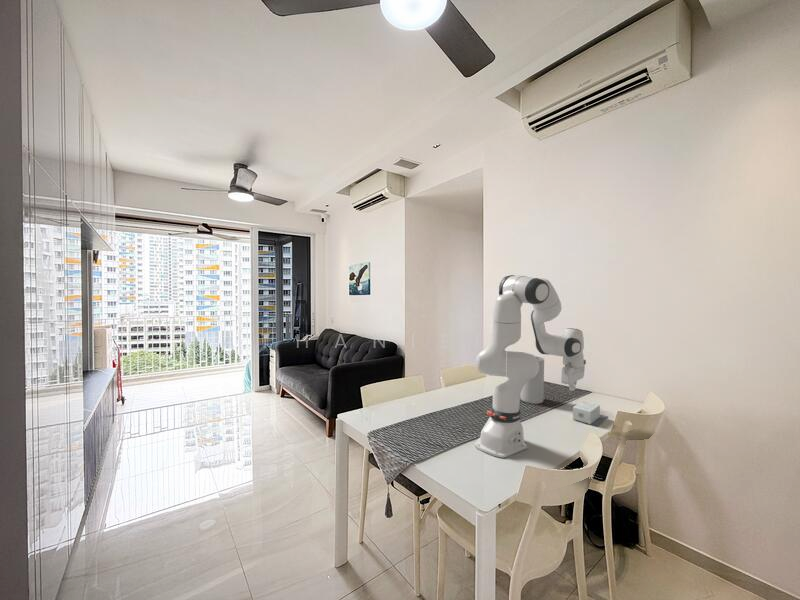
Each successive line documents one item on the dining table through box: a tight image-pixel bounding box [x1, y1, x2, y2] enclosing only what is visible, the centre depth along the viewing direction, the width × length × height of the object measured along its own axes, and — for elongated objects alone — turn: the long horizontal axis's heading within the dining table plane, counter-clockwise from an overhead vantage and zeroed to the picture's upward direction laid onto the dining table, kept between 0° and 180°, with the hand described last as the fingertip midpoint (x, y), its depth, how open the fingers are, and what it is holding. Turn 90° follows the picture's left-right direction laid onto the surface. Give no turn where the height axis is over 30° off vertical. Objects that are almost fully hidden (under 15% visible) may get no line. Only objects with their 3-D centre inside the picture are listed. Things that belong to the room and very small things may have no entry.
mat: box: [576, 414, 608, 427], centre depth 158 cm, size 16×9×1 cm, turn 133°
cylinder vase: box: [520, 355, 545, 405], centre depth 184 cm, size 12×12×25 cm
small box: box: [572, 400, 601, 425], centre depth 158 cm, size 8×6×13 cm
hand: (572, 390), depth 152 cm, fingers closed
